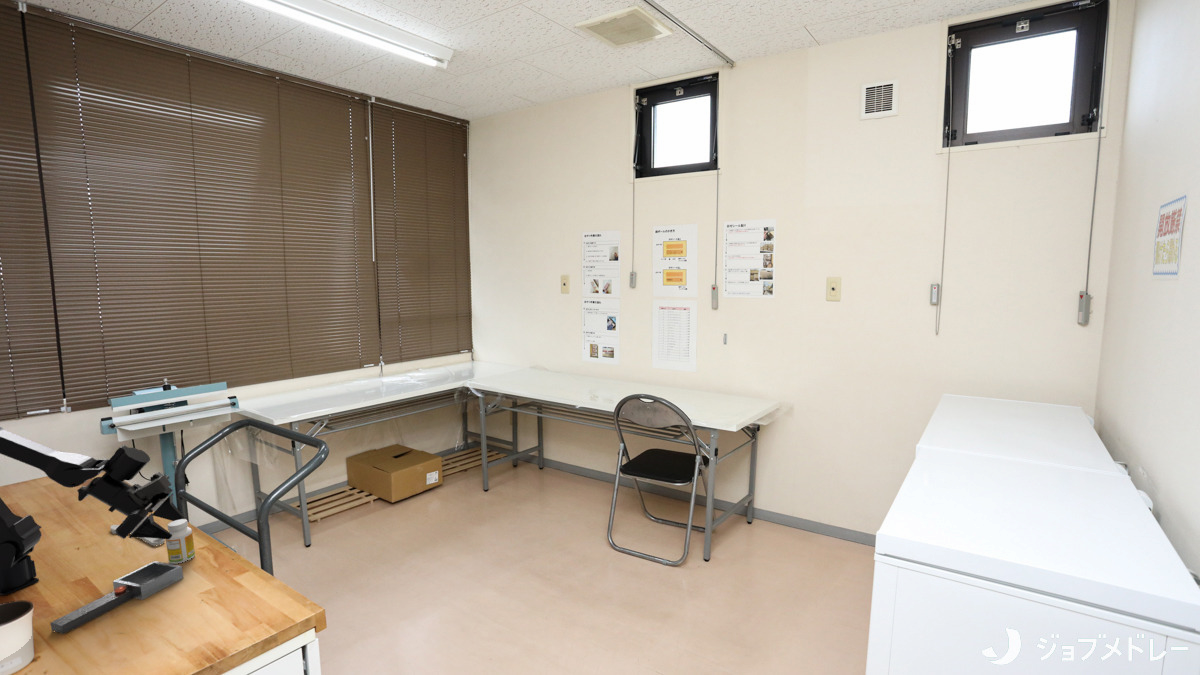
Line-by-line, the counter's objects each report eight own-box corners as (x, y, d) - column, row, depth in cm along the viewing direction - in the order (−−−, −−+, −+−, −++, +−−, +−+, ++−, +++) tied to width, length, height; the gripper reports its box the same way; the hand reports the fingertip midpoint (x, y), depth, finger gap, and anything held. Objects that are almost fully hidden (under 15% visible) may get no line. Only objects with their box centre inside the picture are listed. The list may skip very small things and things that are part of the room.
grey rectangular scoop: (72, 637, 112) (70, 623, 112) (43, 629, 115) (40, 615, 115) (183, 578, 133) (181, 566, 133) (156, 572, 136) (154, 561, 135)
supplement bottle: (191, 551, 146) (186, 515, 145) (198, 557, 142) (193, 521, 141) (166, 560, 142) (161, 523, 140) (172, 566, 138) (167, 529, 137)
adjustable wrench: (167, 544, 151) (166, 538, 151) (137, 555, 146) (136, 549, 145) (135, 522, 165) (134, 516, 165) (106, 530, 160) (106, 524, 160)
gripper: (124, 481, 128) (188, 519, 133) (158, 456, 146) (213, 490, 151) (87, 520, 127) (153, 557, 132) (126, 490, 144) (182, 523, 149)
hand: (177, 529), depth 141 cm, fingers open, 9 cm apart
